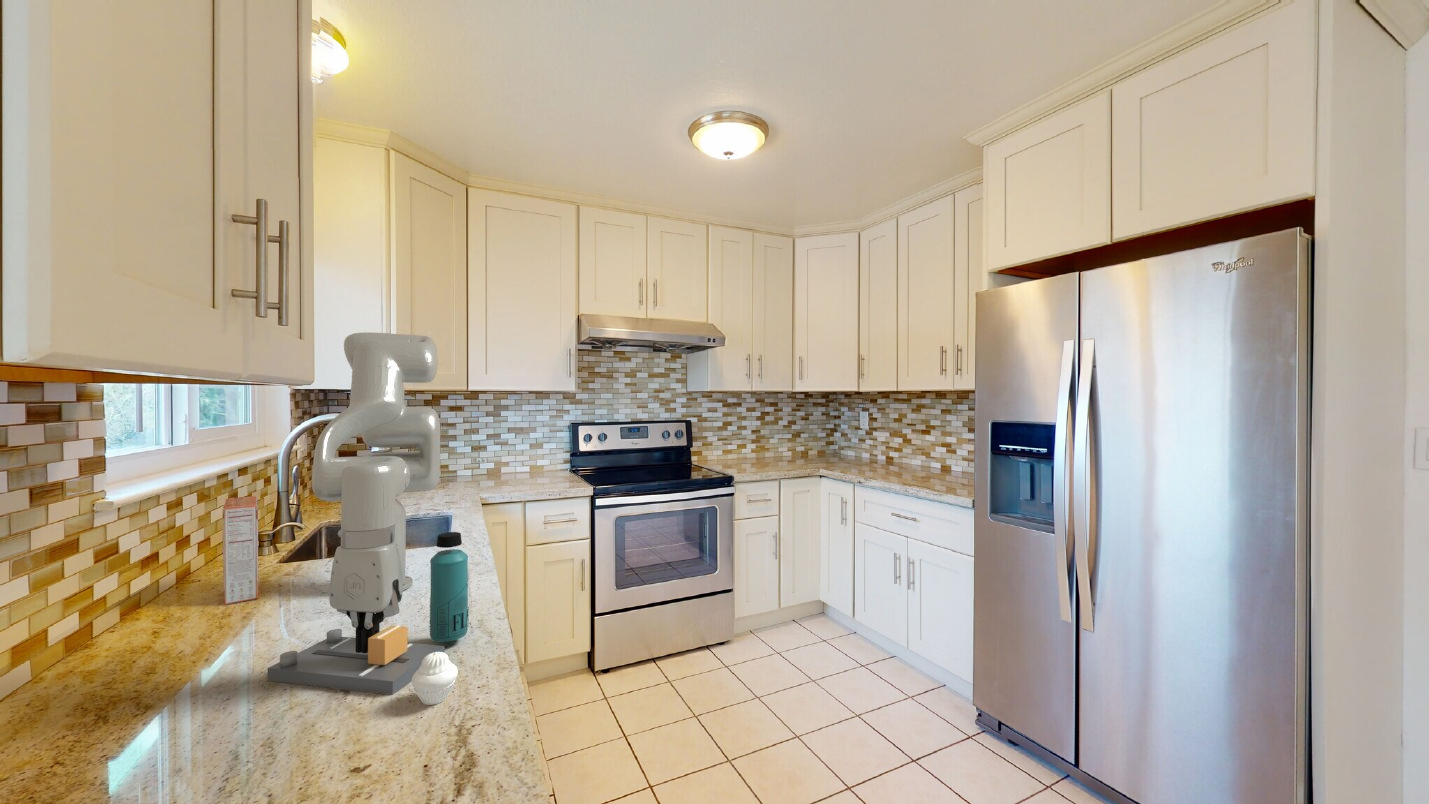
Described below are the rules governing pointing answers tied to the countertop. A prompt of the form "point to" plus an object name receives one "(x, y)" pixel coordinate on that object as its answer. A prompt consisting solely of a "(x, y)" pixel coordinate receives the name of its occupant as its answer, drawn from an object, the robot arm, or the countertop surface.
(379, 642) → the fader tab
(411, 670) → the console board
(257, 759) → the countertop surface
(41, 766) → the countertop surface
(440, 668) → the muffin
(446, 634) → the beverage bottle
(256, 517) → the cracker box
